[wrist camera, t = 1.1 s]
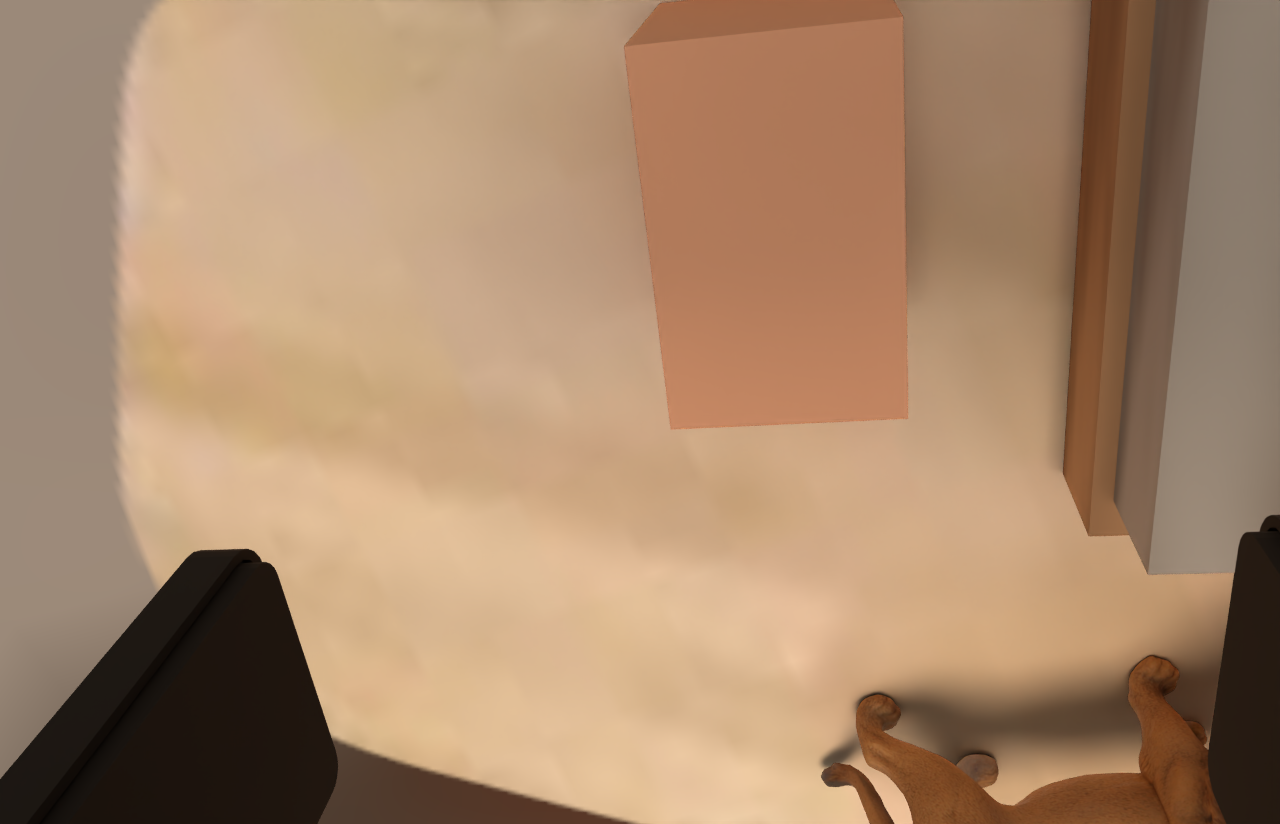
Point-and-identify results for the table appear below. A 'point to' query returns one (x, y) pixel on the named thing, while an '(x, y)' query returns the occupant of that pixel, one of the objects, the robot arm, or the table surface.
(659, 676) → the table surface
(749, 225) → the terracotta brick
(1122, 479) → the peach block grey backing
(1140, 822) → the lion figurine
